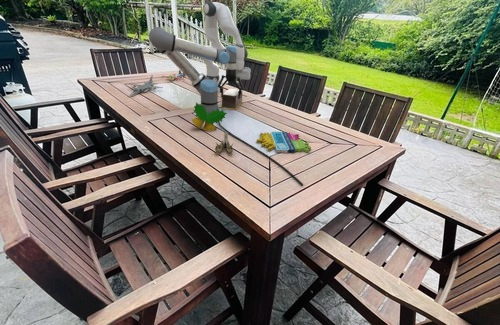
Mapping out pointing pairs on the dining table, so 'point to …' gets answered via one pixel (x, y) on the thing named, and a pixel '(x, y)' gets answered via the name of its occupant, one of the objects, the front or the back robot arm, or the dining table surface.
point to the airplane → (144, 87)
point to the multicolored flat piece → (283, 142)
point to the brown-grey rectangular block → (231, 99)
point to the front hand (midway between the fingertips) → (230, 97)
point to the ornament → (207, 117)
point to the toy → (175, 76)
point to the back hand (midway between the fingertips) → (237, 84)
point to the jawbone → (224, 145)
